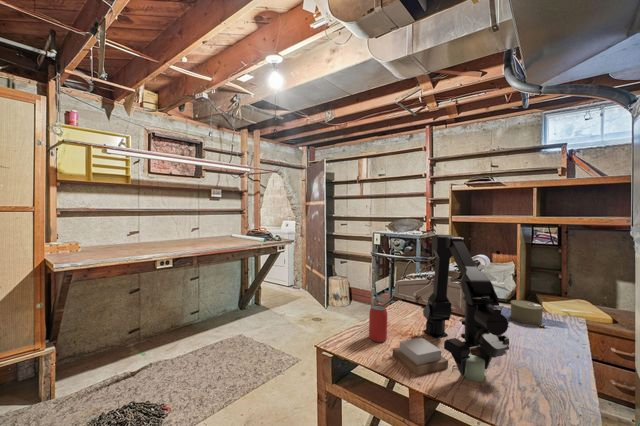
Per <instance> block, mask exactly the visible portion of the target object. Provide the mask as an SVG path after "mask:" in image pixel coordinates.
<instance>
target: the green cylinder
mask: <svg viewBox="0 0 640 426" xmlns="http://www.w3.org/2000/svg"><path fill="white" fill-rule="evenodd" d="M468 356H470V358H468V359H467V360H466V367H465V374H464V375H463V376H464V377H465V378H466V379H468V380H469V381H472V382H477V383H479V382H480V383H481V382H483V381H485V372H486V371H485V370H486V369H485V361H484V360H483V359H482V358H481V356H474V355H472V354H469V355H468Z"/></svg>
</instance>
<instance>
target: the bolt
mask: <svg viewBox="0 0 640 426" xmlns="http://www.w3.org/2000/svg"><path fill="white" fill-rule="evenodd" d="M499 336H501V335H499ZM470 355H474V356H478V357H480V356H481V355H480V348H479V347H475V348H470Z"/></svg>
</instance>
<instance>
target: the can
mask: <svg viewBox="0 0 640 426" xmlns="http://www.w3.org/2000/svg"><path fill="white" fill-rule="evenodd" d="M543 310H544V306H543V305H541V304H540V303H536V302H532V301H529V300H523V299H522V300H521V299H512V300H510V317H511V319H512V320H514V321H516V322H520V323H524V324H528V325H541V324H542V323H543V314H544V313H543Z"/></svg>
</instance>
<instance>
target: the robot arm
mask: <svg viewBox="0 0 640 426" xmlns="http://www.w3.org/2000/svg"><path fill="white" fill-rule="evenodd" d="M430 242H431V249H432V250H431V251H432V252H433V253H434V255H435V265H434V267H435V268H434V277H433V289H432V291H433V292H432V293H431V294H430V295H429V297H428V299H427V304H426V306H424V308H423V310H422V314H423V317H424V318H425V319H426V321H425V322H426V323H425V329H423V332H424V333H426V334H428V335H429V336H430V337H432V338H434V339H438V338H443V337H447V336H448V335H449V334H448V333H446V330H445V329H446V321H447V322H448V321H450V319H451V316H452V310H453V309H452V303H451V302H450V299H449V298H448V296H447V294H448V286H449V285H448V284H449V273H450V262H451V259H452V257H453V259H454V261H455V264H456V266H457V268H458V270H459V273H460V275H461V279H460V286H461V291H462V293H463V294H464V296H463V297H462V300H463V301H465V310H464V311H465V312H464V313H465V314H464V315H465V316H464V317H465V318H464V319H463V320H461V325H463V326H464V333H461V334H460V335H461V336H460V337H461V338H462V339H464V341H462V340H460V339H458V338H456V337H454V338H448V339H445V340H444V341H443V350H445V351H447V352H448V353H450V354H451V356H452V358H453V359H454V362H455V365H456V366H457V369H458V372H459V374H460V375H462V376H464V374H465V367H466V360H467V359H468V358H470V356H468V355H471V353H470V348H475V347H479V348H480V355H479V356H480V358H482V359H483V360H484V361H485V370H487V369H489V368H488V367H489V366H490V364H491V361H492V359H493V358H497V357H503V356H504V354H505V352H506V351H509V350H510V339H509V337H508V336H507V335H506V334H505V333H506V332H507V331H508V328H509V322H508V319H507V318H506V316H505V315H504V314H502V309H501V308H499V306H500V303H499V297H498V295H497V293H496V290H495V288H494V285H493V283H492V281H491V279H490V278H489V277H488V276H487V274H486V273H485V272H483V271H481V269H478V267H477V264H476V263H475V260H474V259H473V258H472V256H471V254H470V251H469V249H468V248H467V246H466V244H465V239H464V237H461V236H454V235H453V234H434V236H433V237H431V241H430ZM496 306H497V307H496ZM499 335H501V336H499Z"/></svg>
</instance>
